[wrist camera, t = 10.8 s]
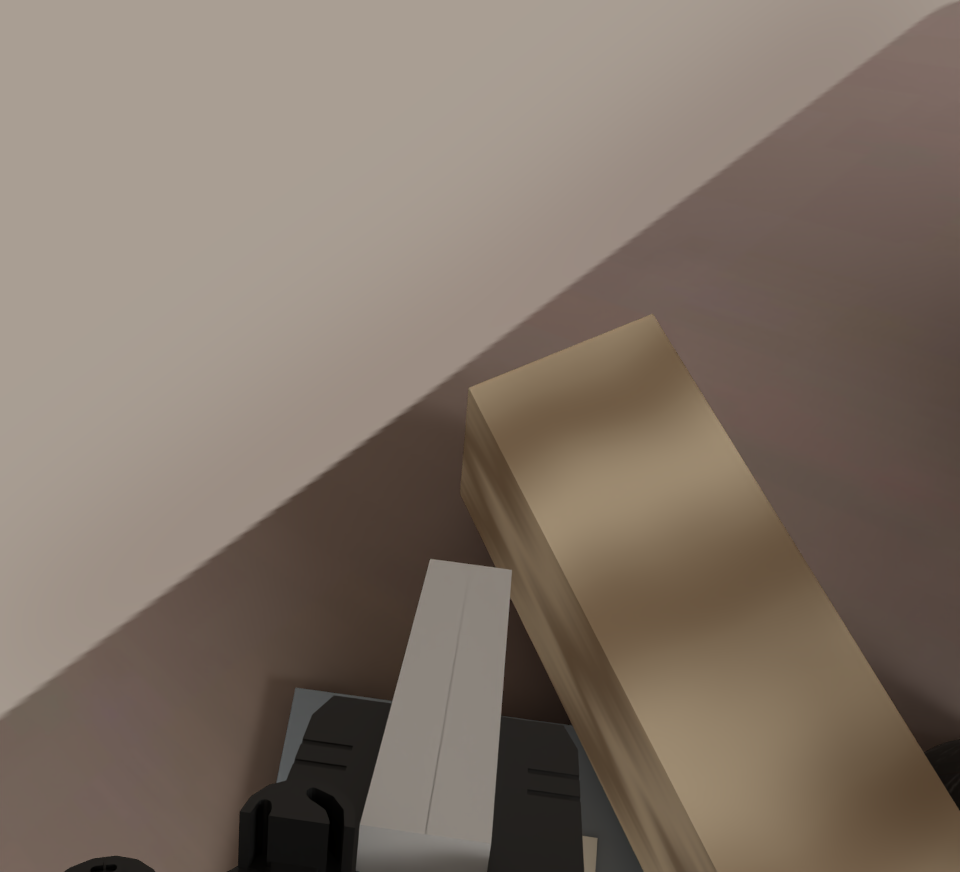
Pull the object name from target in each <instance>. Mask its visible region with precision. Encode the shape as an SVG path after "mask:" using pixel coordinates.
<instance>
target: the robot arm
mask: <svg viewBox="0 0 960 872" xmlns="http://www.w3.org/2000/svg"><path fill="white" fill-rule="evenodd" d="M511 577H512V570H509V569H502V568H495V567H487V566H480V565H472V564H465V563H458V562H450V561H443V560H436V559H430V562H429V565H428V569H427V573H426V577H425V581H424V584H423V588H422V592H421V596H420V599H419V603H418V607H417V611H416V614H415V618H414V622H413V626H412V630H411V633H410V637H409V641H408V645H407V648H406V652H405V656H404V660H403V663H402V667H401V671H400V675H399V679H398V682H397V686H396V690H395V694H394V697H393V701H392V703H385V702H378V701H371V700H364V699H357V698H350V697H342V696H335V695H334V696H333V697H331V698H330V699H329V700H328V701H327V702H326V703H325V704H323V705H322V706H321V707H320V708H319V709H318V710H317V711H316V712H314V713H313V714H312V716H311V719H310V721H309V724H308V726H307V729H306V731H305V734H304V736H303V740H302V744H300V747H299V749H298V752H297V754H296V757H295V761H294V764H292V767H291V769H290V772H289V774H288V777H287V780H285V781H282V782H278V783H275V784H271V785H268V786H266V787H265V788H263V789H262V790H260V791H259V792H257V793H255V794H254V795H252V796H251V797H250V798H249V800H248V801H247V802H246V804H245V805H244V807H243V808H242V809H241V811H240V823H239V856H238V866H237V867H235V868H234V869H232V870H230V871H228V872H584V858H583V838H582V818H581V802H580V780H579V759H578V749H577V747H576V745H575V744H574V742H573V740H572V739H571V737H570V735H569V734H568V732H567V730H566V729H565V727H564V726H563V725H559V724H552V723H544V722H537V721H530V720H523V719H516V718H509V717H502V716H501V708H502V695H503V682H504V668H505V655H506V642H507V629H508V616H509V603H510V590H511ZM65 872H155V871H154V869H152V868H150V867H149V866H147V865H146V864H144V863H143V862H141V861H139V860H137V859H132V858H126V857H121V856H111V857H102V858H94V859H91V860H88V861H86V862H83V863H81V864H78V865H76V866H73V867H71V868H69V869H67V870H66V871H65Z"/></svg>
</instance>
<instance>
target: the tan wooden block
mask: <svg viewBox="0 0 960 872" xmlns="http://www.w3.org/2000/svg"><path fill="white" fill-rule="evenodd" d="M460 495H461V497H462V499H463V501H464V503H465V505H466V507H467V509H468V511H469V513H470V515H471V517H472V520H473V522H474V524H475V526H476V528H477V530H478V532H479V534H480V536H481V538H482V540H483V542H484V544H485V546H486V548H487V550H488V552H489V555H490V557H491V559H492V561H493V563H494V565H495V567H496V568H502V569H509V570H512V577H511V590H510V598H511V600H512V602H513V604H514V606H515V608H516V610H517V612H518V614H519V616H520V618H521V620H522V622H523V624H524V627H525V629H526V631H527V633H528V635H529V637H530V639H531V641H532V643H533V645H534V647H535V649H536V651H537V653H538V655H539V657H540V659H541V661H542V664H543V666H544V668H545V670H546V672H547V674H548V676H549V678H550V680H551V682H552V684H553V686H554V688H555V690H556V692H557V694H558V696H559V699H560V701H561V703H562V705H563V707H564V709H565V711H566V713H567V715H568V717H569V719H570V721H571V723H572V725H573V727H574V729H575V731H576V734H577V736H578V738H579V740H580V742H581V744H582V746H583V748H584V750H585V752H586V754H587V756H588V758H589V760H590V762H591V764H592V766H593V768H594V771H595V773H596V775H597V777H598V779H599V781H600V783H601V785H602V787H603V789H604V791H605V793H606V795H607V797H608V799H609V801H610V803H611V806H612V808H613V810H614V812H615V814H616V816H617V818H618V820H619V822H620V824H621V826H622V828H623V830H624V832H625V834H626V836H627V838H628V840H629V843H630V845H631V847H632V849H633V851H634V853H635V855H636V857H637V859H638V861H639V863H640V865H641V867H642V869H643V871H644V872H960V811H959V809H958V807H957V806H956V804H955V802H954V801H953V799H952V798H951V796H950V794H949V793H948V791H947V790H946V788H945V786H944V785H943V783H942V781H941V780H940V778H939V777H938V775H937V773H936V772H935V770H934V768H933V767H932V765H931V764H930V762H929V760H928V759H927V757H926V756H925V754H924V752H923V751H922V749H921V747H920V746H919V744H918V743H917V741H916V739H915V738H914V736H913V734H912V733H911V731H910V730H909V728H908V726H907V725H906V723H905V722H904V720H903V718H902V717H901V715H900V713H899V712H898V710H897V709H896V707H895V705H894V704H893V702H892V700H891V699H890V697H889V696H888V694H887V692H886V691H885V689H884V688H883V686H882V684H881V683H880V681H879V679H878V678H877V676H876V675H875V673H874V671H873V670H872V668H871V666H870V665H869V663H868V662H867V660H866V658H865V657H864V655H863V654H862V652H861V650H860V649H859V647H858V645H857V644H856V642H855V641H854V639H853V637H852V636H851V634H850V632H849V631H848V629H847V628H846V626H845V624H844V623H843V621H842V620H841V618H840V616H839V615H838V613H837V611H836V610H835V608H834V607H833V605H832V603H831V602H830V600H829V598H828V597H827V595H826V594H825V592H824V590H823V589H822V587H821V586H820V584H819V582H818V581H817V579H816V577H815V576H814V574H813V573H812V571H811V569H810V568H809V566H808V565H807V563H806V561H805V560H804V558H803V556H802V555H801V553H800V552H799V550H798V548H797V547H796V545H795V543H794V542H793V540H792V539H791V537H790V535H789V534H788V532H787V531H786V529H785V527H784V526H783V524H782V522H781V521H780V519H779V518H778V516H777V514H776V513H775V511H774V509H773V508H772V506H771V505H770V503H769V501H768V500H767V498H766V497H765V495H764V493H763V492H762V490H761V488H760V487H759V485H758V484H757V482H756V480H755V479H754V477H753V475H752V474H751V472H750V471H749V469H748V467H747V466H746V464H745V463H744V461H743V459H742V458H741V456H740V454H739V453H738V451H737V450H736V448H735V446H734V445H733V443H732V441H731V440H730V438H729V437H728V435H727V433H726V432H725V430H724V429H723V427H722V425H721V424H720V422H719V420H718V419H717V417H716V416H715V414H714V412H713V411H712V409H711V407H710V406H709V404H708V403H707V401H706V399H705V398H704V396H703V395H702V393H701V391H700V390H699V388H698V386H697V385H696V383H695V382H694V380H693V378H692V377H691V375H690V373H689V372H688V370H687V369H686V367H685V365H684V364H683V362H682V361H681V359H680V357H679V356H678V354H677V352H676V351H675V349H674V348H673V346H672V344H671V343H670V341H669V339H668V338H667V336H666V335H665V333H664V331H663V330H662V328H661V327H660V325H659V323H658V322H657V320H656V318H655V317H654V315H653V314H651V315H648V316H646V317H643V318H641V319H638V320H636V321H633V322H631V323H629V324H626V325H624V326H621V327H619V328H616V329H614V330H611V331H609V332H606V333H604V334H601V335H599V336H596V337H594V338H591V339H589V340H586V341H584V342H581V343H579V344H576V345H574V346H571V347H569V348H566V349H564V350H561V351H559V352H556V353H554V354H552V355H549V356H547V357H544V358H542V359H539V360H537V361H534V362H532V363H529V364H527V365H524V366H522V367H519V368H517V369H514V370H512V371H509V372H507V373H504V374H502V375H499V376H497V377H494V378H492V379H489V380H487V381H484V382H482V383H479V384H477V385H475V386H472V387H470V388H469V390H468V403H467V415H466V427H465V439H464V452H463V464H462V476H461V488H460Z"/></svg>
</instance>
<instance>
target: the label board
mask: <svg viewBox="0 0 960 872" xmlns="http://www.w3.org/2000/svg"><path fill="white" fill-rule="evenodd" d="M334 695H335V696H342V697H350V698H357V699H364V700H371V701H378V702H385V703H392V701H390V700H382V699H375V698H368V697H360V696H353V695H346V694H339V693H331V692H324V691H317V690H309V689H302V688H295V693H294V698H293V703H292V708H291V713H290V718H289V723H288V727H287V732H286V737H285V742H284V747H283V752H282V757H281V762H280V767H279V772H278V777H277V782H276V783H278V782H282V781H285V780H287V777H288V774H289V772H290V769H291V767H292V764H294V761H295V757H296V754H297V752H298V749H299V747H300V744H302V740H303V736H304V734H305V731H306V729H307V726H308V724H309V721H310V719H311V716H312V714H313V713H314V712H316V711H317V710H318V709H319V708H320V707H321V706H322V705H323V704H325V703H326V702H327V701H328V700H329V699H330V698H331V697H333V696H334ZM502 717H506V716H502ZM509 718H514V717H509ZM516 719H521V718H516ZM523 720H528V719H523ZM530 721H535V720H530ZM537 722H543V721H537ZM544 723H550V722H544ZM552 724H557V723H552ZM559 725H563V726H564V727H565V729H566V730H567V732H568V734H569V735H570V737H571V739H572V740H573V742H574V744H575V745H576V747H577V749H578V759H579V780H580V802H581V818H582V838H583V858H584V872H644V871H643V869H642V867H641V865H640V863H639V861H638V859H637V857H636V855H635V853H634V851H633V849H632V847H631V845H630V843H629V840H628V838H627V836H626V834H625V832H624V830H623V828H622V826H621V824H620V822H619V820H618V818H617V816H616V814H615V812H614V810H613V808H612V806H611V803H610V801H609V799H608V797H607V795H606V793H605V791H604V789H603V787H602V785H601V783H600V781H599V779H598V777H597V775H596V773H595V771H594V768H593V766H592V764H591V762H590V760H589V758H588V756H587V754H586V752H585V750H584V748H583V746H582V744H581V742H580V740H579V738H578V736H577V734H576V731H575V729H574V727H573V726H572V725H565V724H559Z"/></svg>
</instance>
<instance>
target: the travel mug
mask: <svg viewBox="0 0 960 872" xmlns="http://www.w3.org/2000/svg"><path fill="white" fill-rule="evenodd" d="M924 754H925V756H926V757H927V759H928V760H929V762H930V764H931V765H932V767H933V768H934V770H935V772H936V773H937V775H938V777H939V778H940V780H941V781H942V783H943V785H944V786H945V788H946V790H947V791H948V793H949V794H950V796H951V798H952V799H953V801H954V802H955V804H956V806H957V807H958V809H959V811H960V739H959V740H954V741H950V742H947V743H944V744H941V745H939V746H936V747H934V748H932V749H930V750H928V751H927V752H925V753H924Z"/></svg>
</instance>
